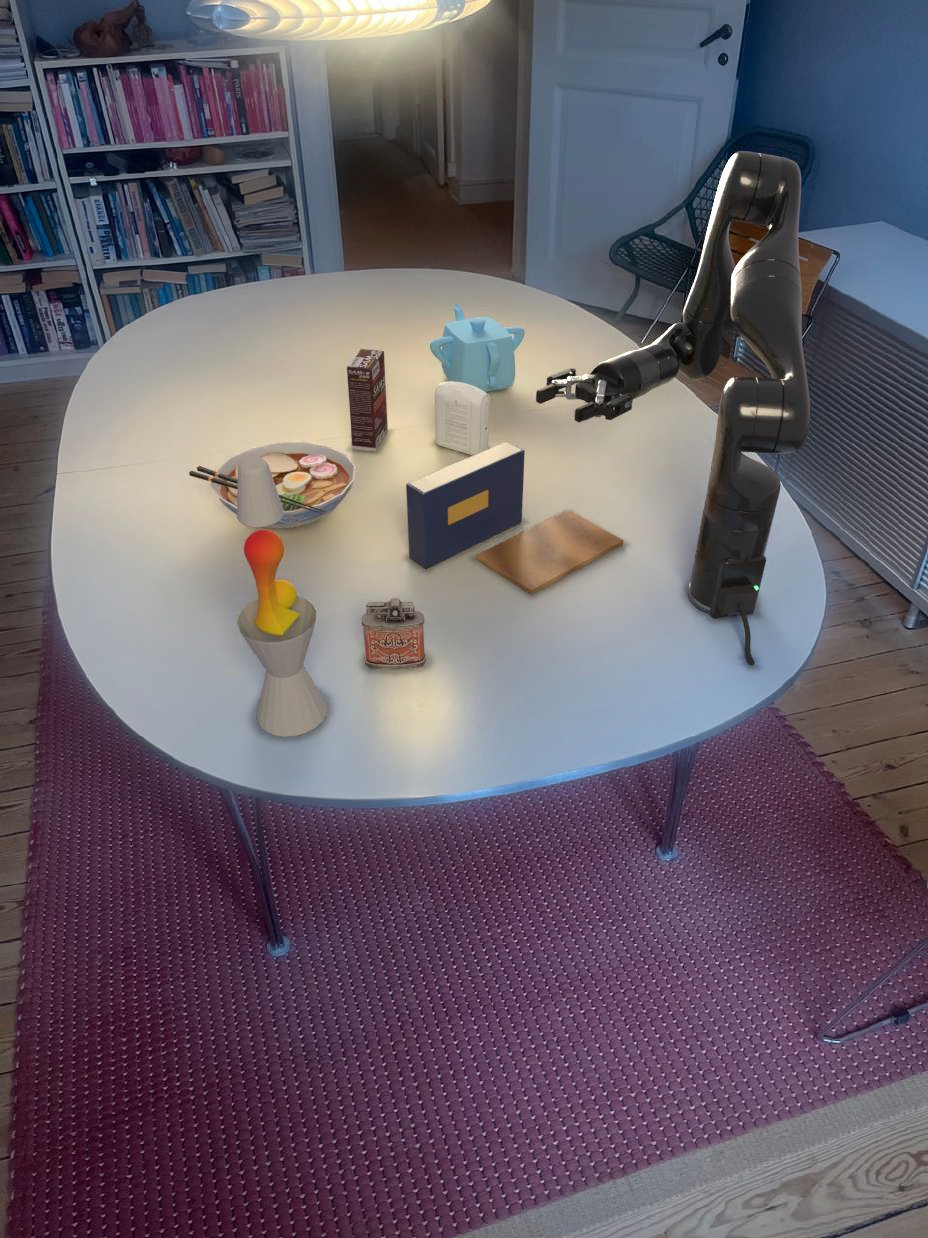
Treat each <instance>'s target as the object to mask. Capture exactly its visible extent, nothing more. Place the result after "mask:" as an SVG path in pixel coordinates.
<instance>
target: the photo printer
mask: <svg viewBox="0 0 928 1238" xmlns="http://www.w3.org/2000/svg"><path fill="white" fill-rule="evenodd" d="M490 407H491V399H490V395H489V394H488V393H487V391H486V392H484V391H483V390H481V389H479V388H477V387H475V386H472V385H469V384H466V383H462V382H453V381H449V380H448V381H441V382H440V383H439V384H437V386H436V389H435V393H434V442H435V445H437V446H439V447H442V448H446V449H450V450H454V451H457V452H461V453H463V454H467V455H470V456H473V455H476V454H478V453H481V452H483V451H485V450H488V449H489V444H490V442H489V441H490V415H491V411H490V410H491V408H490Z"/></svg>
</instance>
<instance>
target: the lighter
mask: <svg viewBox="0 0 928 1238" xmlns="http://www.w3.org/2000/svg"><path fill="white" fill-rule="evenodd" d="M360 620H361V626H362V627H363V637H364V638H363V639H364V651H365V655H364V665H365V666H366V668H367V669H371V670H377V671H378V670H379V671H404V670H405V671H406V670H413V669H419V668H422V667H424V666H425V665H426V662H427V656H426V653H425V638H424V637H425V636H424V635H425V633H424V624H425V614H424V613H423V612H422V611H419V610H415V602H414V601H412V600H407V601H406V600H404V601H402V600H401V599H400V598H397V597H393V598H391V599H390V600H389V601H385V600H381V601H380V600H379V601H378V600H376V601H375V600H374V601H373V600H371V601H367V602H366V603H365V612H364V613H363V614H362V615H361V618H360Z"/></svg>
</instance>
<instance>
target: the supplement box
mask: <svg viewBox="0 0 928 1238" xmlns="http://www.w3.org/2000/svg"><path fill="white" fill-rule="evenodd" d="M385 364H386V363H385V351H384V350H377V349H365V348H360V349H359V351H358V353H357V354H356V356H355V357H354V358H353V360H351V362H350V363H349V365H347V366H346V374H347V375H346V376H347V391H348V404H349V419H350V420H349V421H350V435H351V437H350V438H351V449H352V450H353V451H361V452H370V453H371V452H373V453H376V452H377V450H378V449H379V447H380V445H381V443H382V442H383V440H384V438H385V436H386V435H387V434H388V432H389V429H388V428H389V426H388V425H389V423H388V408H387V406H388V405H387V390H386V389H387V387H386V386H387V385H386V365H385Z"/></svg>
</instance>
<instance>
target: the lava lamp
mask: <svg viewBox="0 0 928 1238" xmlns="http://www.w3.org/2000/svg"><path fill="white" fill-rule="evenodd" d="M283 516H284V510H283V507H282V504H281V501H280V498H279V495H278V492H277V489H276V486H275V483H274V480H273V477H272V474H271V471H270V468H269V465H268V463H267V462H266V461H265V460H264V459H261V458H256V457H255V458H248V459H245V460H243V461H242V462H240V464H239V465H238V489H237V515H236V518H237V520H238V522H239V524H241V525H243V526H246V527H249V528H261V529H257V530H255V531H252V532H251V533H250V534H249V535H248V536H247V537H246V539H245V541H244V544H243V554H244V556H245V559H246V561H247V563H248V566H249V567H250V570H251V572H252V575H253V578H254V581H255V586H256V590H257V599H256V600H254V601H252V602H250V603H249V604H247V605H246V606H245V607H244V608H242V610H241V611H240V613H239V615H238V616H237V623H236V624H237V627H238V630H239V632H240V634H241V636H242V637H243V639H244V640H245V642H246V643H247V645H248V646H249V647H250V649H251V650H252V652H253V653H254V654H255V656H256V657H257V659H258V660H259V662H260V663H261V665H262V666H263V668H264V669H265V674H264V679H263V683H262V688H261V693H260V696H259V700H258V701H259V702H258V705H257V706H258V707H257V712H256V720H257V723H258V725H259V726H260V727H261V729H263V731H265V732H266V733H269V734H271V735H273V736H277V737H283V738H286V737H297V736H300V735H304V734H307V733H309V732H311V731H313V730H314V729H317V727H318V726H319V725H320V724H321V723H322V722H323V721H324V719H325V718H326V715H327V704H326V702H325V699H324V697H323V696H322V694H321V692H320V690H319V689H318V687H317V686H316V684H315V682H314V681H313V678H312V676H311V675H310V673H309V672H308V669H307V668H306V667H305V665H304V662H305V659H306V656H307V653H308V650H309V649H308V648H309V645H310V642H311V638H312V635H313V632H314V628H315V626H316V620H317V610H316V609H315V607H314V604H312V602H310V601H309V600H307V599H306V598H304V597H300V596H299V595H298V592H297V589H296V587H295V585H294V584H293V583H292V582H290V581H289V580H286V579H282V578H281V579H276V575H277V573H278V572H277V571H278V568H279V565H280V563H281V562H282V560H283V558H284V555H285V543H284V541H283V539H282V537H281V536H280V535H279V534H278V533H276V532H275V531H273V530H271V529H266V528H264V527H266V526H269V525H272V524H274V523H276V522H278V521H279V520H280V519H281V518H282V517H283ZM262 528H263V529H262Z"/></svg>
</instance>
